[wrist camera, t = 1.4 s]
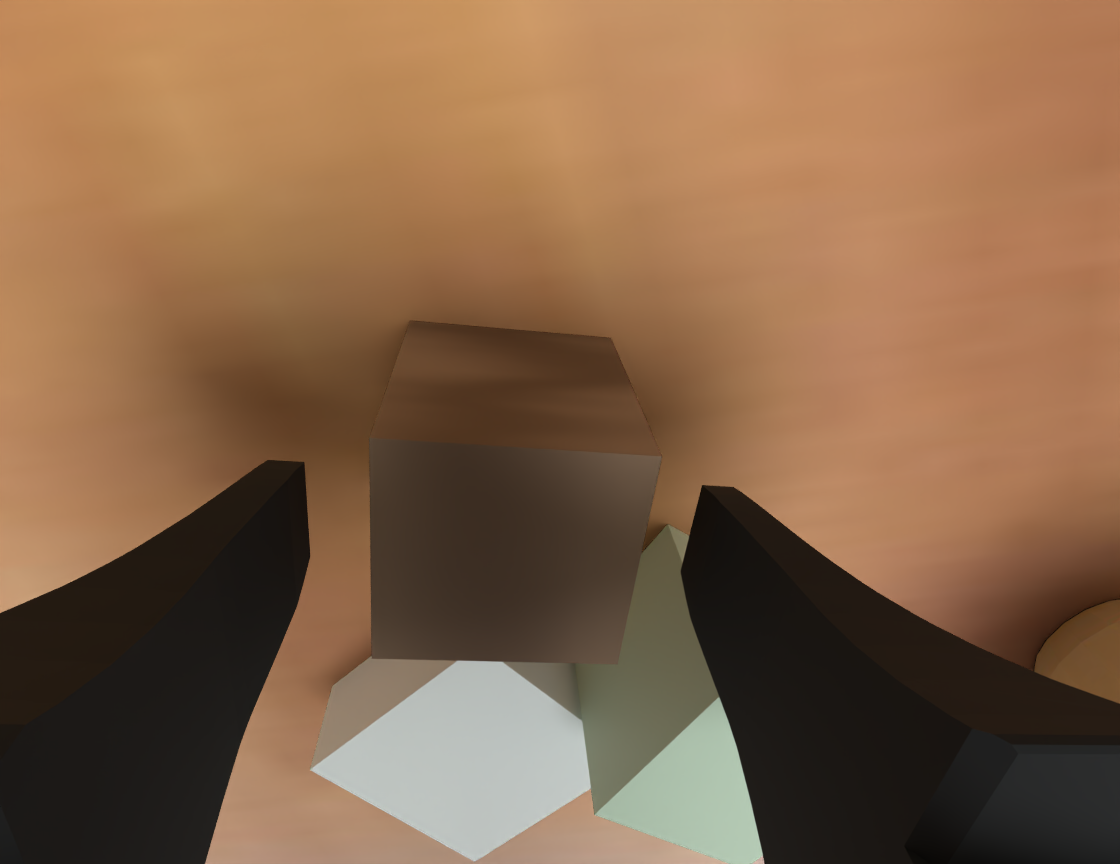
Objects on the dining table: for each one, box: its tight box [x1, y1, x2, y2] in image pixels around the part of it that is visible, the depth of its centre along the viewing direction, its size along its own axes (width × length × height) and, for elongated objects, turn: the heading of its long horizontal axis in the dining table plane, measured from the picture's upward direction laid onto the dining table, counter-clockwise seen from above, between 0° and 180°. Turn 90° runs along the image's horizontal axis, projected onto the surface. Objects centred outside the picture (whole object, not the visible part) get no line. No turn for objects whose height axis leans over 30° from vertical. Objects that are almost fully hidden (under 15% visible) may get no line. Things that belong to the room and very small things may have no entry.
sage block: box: [575, 524, 763, 864], centre depth 17 cm, size 4×4×6 cm
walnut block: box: [369, 321, 662, 664], centre depth 14 cm, size 4×4×6 cm
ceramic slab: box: [310, 656, 591, 862], centre depth 19 cm, size 6×6×3 cm
